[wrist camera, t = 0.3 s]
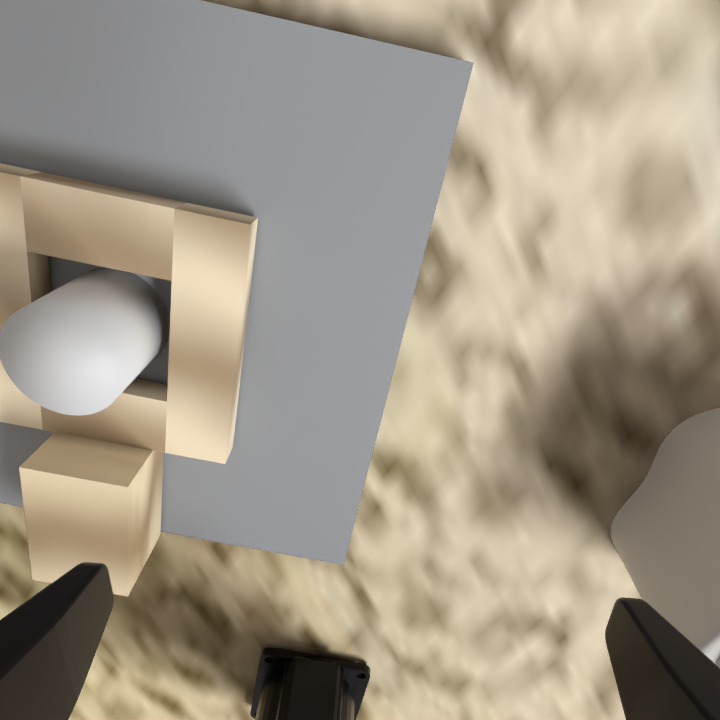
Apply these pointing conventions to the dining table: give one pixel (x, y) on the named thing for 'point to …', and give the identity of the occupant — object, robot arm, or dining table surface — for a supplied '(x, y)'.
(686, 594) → the lumpy-topped squat cylinder
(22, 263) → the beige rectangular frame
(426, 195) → the board
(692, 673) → the robot arm
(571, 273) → the dining table surface
